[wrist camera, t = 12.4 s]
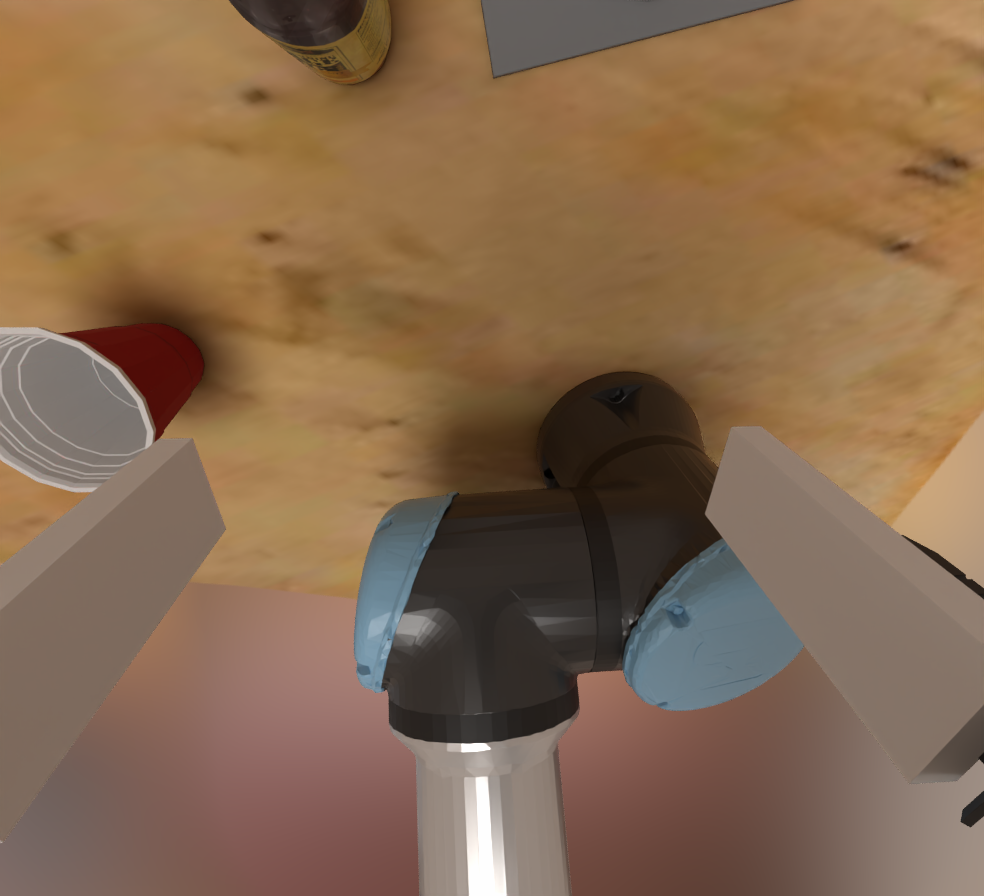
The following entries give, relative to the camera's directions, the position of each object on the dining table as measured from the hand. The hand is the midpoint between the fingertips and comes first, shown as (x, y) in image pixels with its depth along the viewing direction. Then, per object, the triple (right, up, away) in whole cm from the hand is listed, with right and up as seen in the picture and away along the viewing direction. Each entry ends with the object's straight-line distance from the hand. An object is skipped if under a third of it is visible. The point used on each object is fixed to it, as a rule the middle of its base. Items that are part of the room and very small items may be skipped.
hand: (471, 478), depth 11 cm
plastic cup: (-27, +9, +26) cm, 38 cm away
